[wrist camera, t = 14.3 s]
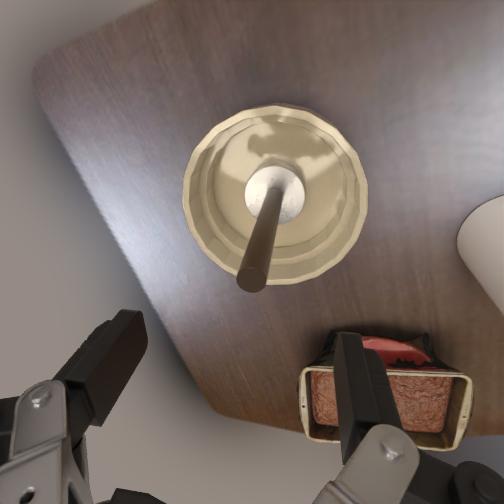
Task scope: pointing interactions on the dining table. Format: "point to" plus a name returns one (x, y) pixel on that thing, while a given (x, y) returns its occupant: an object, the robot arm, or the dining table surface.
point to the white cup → (485, 248)
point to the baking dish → (394, 393)
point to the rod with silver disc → (268, 217)
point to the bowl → (316, 190)
